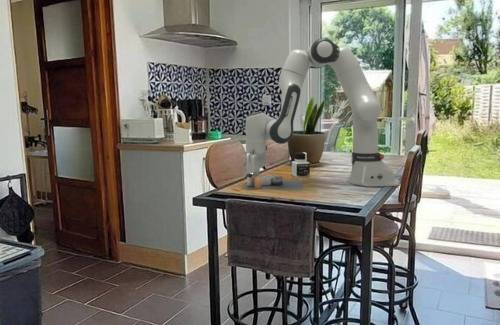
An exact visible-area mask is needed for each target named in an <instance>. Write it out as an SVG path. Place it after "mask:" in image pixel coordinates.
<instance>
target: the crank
mask: <svg viewBox="0 0 500 325" xmlns="http://www.w3.org/2000/svg"><path fill="white" fill-rule="evenodd" d="M259 176H260V177H261V185H282V184H283V180H284V178H283V177H284V176H280V175H274V174H266V175H265V174H263V175H262V174H259ZM254 177H256V176H254V175H253V173H246V183H247V185H248V186H254Z"/></svg>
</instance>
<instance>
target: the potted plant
mask: <svg viewBox="0 0 500 325" xmlns="http://www.w3.org/2000/svg"><path fill="white" fill-rule="evenodd" d="M325 102H326V101H325V100H323V101H322V102H320V105H319V106H318V104H317V103H315V95H312V97H311V98H310V100H309V102H308V104H307V106H306V110H305V115H304V120H303V130H293V136H292V138H291V139H290V140H289V141H288V142H287V148H288V156H289V158H290V161H289V163H290V165H291V166H292V161H295V153H297V152H305V153H306V154H307V160H306V162H309V163H310V168H315V167H319V166H320V164H321V159H322V156H323V154H324V150H325V142H326V132H324V131H318V130H317V131H316V127H317V124H318V121H319V119H320V118H321V116H322V114H323V111H324V108H325ZM314 103H315V104H314Z"/></svg>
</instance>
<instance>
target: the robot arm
mask: <svg viewBox="0 0 500 325" xmlns="http://www.w3.org/2000/svg"><path fill="white" fill-rule="evenodd" d="M327 65H328V66H330V68H332V70H333V71H334V74H335V76H336V78H337V79H338V82H339V85H340V86H341V89H342V90H343V93H344V94H345V96H346V99H347V101H348V103H349V104H350V106H351V108H352V133H353V134H352V136H353V137H352V151H351V171H350V176H349V180H348V183H350V184H353V185H357V186H358V185H359V186H362V187H392V186H393V187H394V186H395V187H398V186H400V185H401V182H400V180H399V179H397V178H395V177H396V176H395V171H394V170H393V168H392V167H390V166H389V165H388V164H387V163H385V162H384V161H383V159H385V155H384V154H383V153H380V152H378V151H379V130H378V129H379V128H378V119H379V117H380V115H381V113H382V106H381V104H380V102H379V100H378V98H377V97H376V95H375V92H374V90H373V89H372V87H371V85H370V83H369V82H368V80H367V78H366V76H365V75H366V74H365V73H364V71H363V68H362V67H361V65H360V63H359V61H358V59H357V57H356V56H355V54H354V53H353V51H352V50H351V48H350V47H348V46H338V44H336V43H334V42H333V41H332V40H331V39H329V38H326V37H323V38H322V37H321V38H318V39H316V40H314V42H312V43H311V45H309V47H308V48H307V49H306V50H304V49H303V50H302V49H300V48H299V49H298V48H297V49H292V50H291V51H290V52H289V53H288V55H287V57H286V59H285V62H284V64H283V65H282V68H281V71H280V75H279V78H278V87H279V89H280V91H281V92H282V95H283V102H282V105H281V109H280V112H279V116H278V117H277V118H275V117H271V116H270V115H267V114H266V113H264V112H263V111H255V112H254V111H253V112H252V113H248V115H246V118H245V135H246V139H245V153H246V154H247V156H246V160H245V161H246V162H245V163H246V164H245V171H246V174H249V173H250V174H252V175H253V176H260V172H261V169H262V168H263V167H264V166H265V165H266V161H267V160H266V159H267V151H268V145H267V144H266V141H267V140H270V141H271V142H272V141H273V142H275V143H277V144H279V145H284V144H286V143H288V141H289V140H290V139H291V138H292V136H293V131H294V120H295V118H296V117H295V116H296V112H297V110H298V105H299V102H300V96H301V91H302V89H303V85H304V83H305V79H306V76H307V73H308V71H309V70H310V69H321V68H323V67H324V66H327Z"/></svg>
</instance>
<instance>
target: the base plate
mask: <svg viewBox="0 0 500 325" xmlns="http://www.w3.org/2000/svg"><path fill="white" fill-rule="evenodd" d="M303 187H304V180H302V179H301V180H297V179H296V180H294V179H290V180H289V179H288V180H287V179H285V180H284V179H283V184H282V185H261V177H260V175H259V176H256V177H254V186H248V185H247V182H245V184H244V185H243V187H241V189H242V190H276V191H277V190H281V191H282V190H285V191H303Z"/></svg>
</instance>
